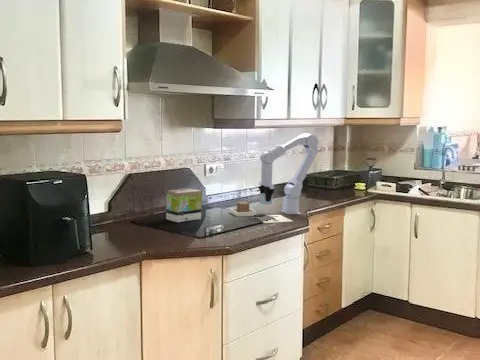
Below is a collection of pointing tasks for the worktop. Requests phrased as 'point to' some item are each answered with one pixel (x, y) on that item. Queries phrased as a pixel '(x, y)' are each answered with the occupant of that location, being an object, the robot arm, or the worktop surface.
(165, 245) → the worktop surface
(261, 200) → the blue cube
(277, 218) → the letter board
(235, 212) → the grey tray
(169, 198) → the tea box
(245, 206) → the walnut block
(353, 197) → the worktop surface
